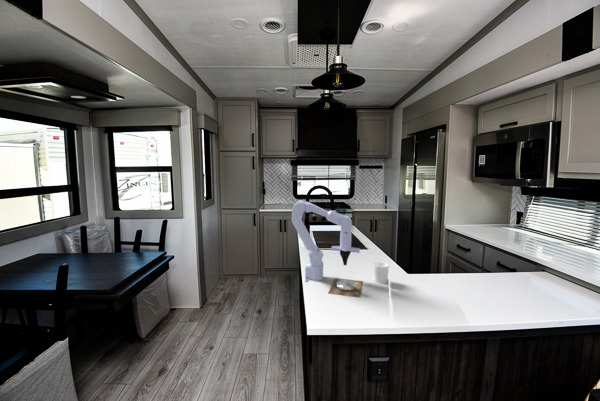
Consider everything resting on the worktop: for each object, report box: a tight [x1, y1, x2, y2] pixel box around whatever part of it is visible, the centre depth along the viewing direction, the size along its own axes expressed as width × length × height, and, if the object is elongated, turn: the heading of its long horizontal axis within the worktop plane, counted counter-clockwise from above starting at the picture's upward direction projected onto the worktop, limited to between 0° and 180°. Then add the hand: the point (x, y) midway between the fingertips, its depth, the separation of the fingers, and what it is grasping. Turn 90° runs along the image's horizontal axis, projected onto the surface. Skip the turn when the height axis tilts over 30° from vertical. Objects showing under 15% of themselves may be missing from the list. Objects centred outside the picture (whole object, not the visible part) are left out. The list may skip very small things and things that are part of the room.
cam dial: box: [336, 279, 362, 292], centre depth 135 cm, size 15×10×5 cm
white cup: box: [372, 261, 390, 284], centre depth 145 cm, size 8×8×10 cm
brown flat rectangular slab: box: [327, 277, 364, 299], centre depth 137 cm, size 15×19×2 cm
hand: (345, 264), depth 145 cm, fingers closed
